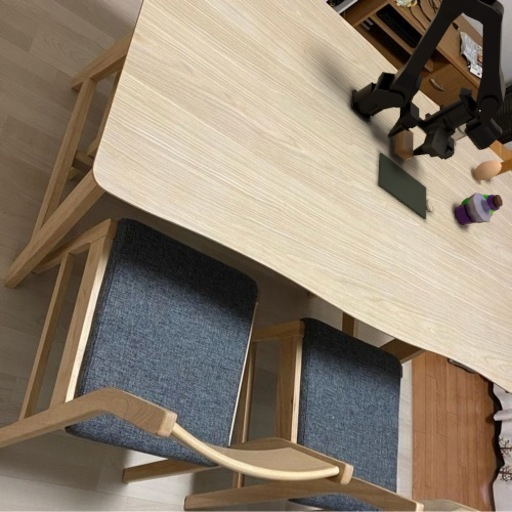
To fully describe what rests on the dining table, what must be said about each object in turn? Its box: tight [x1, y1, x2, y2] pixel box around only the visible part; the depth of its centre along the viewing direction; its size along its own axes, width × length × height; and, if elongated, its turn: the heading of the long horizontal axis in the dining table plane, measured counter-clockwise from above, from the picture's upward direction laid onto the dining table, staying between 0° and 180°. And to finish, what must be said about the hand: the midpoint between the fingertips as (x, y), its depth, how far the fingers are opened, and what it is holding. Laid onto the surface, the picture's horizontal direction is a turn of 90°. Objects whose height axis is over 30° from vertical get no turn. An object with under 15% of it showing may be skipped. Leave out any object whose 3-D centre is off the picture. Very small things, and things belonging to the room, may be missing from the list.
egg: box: [473, 160, 501, 181], centre depth 170 cm, size 5×5×8 cm
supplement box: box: [493, 157, 512, 178], centre depth 174 cm, size 3×3×10 cm
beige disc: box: [426, 199, 434, 212], centre depth 148 cm, size 3×3×1 cm
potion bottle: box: [453, 192, 504, 226], centre depth 154 cm, size 9×9×12 cm
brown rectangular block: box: [390, 129, 415, 164], centre depth 146 cm, size 4×8×4 cm, turn 169°
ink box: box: [451, 110, 480, 143], centre depth 164 cm, size 8×5×12 cm, turn 123°
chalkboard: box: [377, 152, 427, 220], centre depth 143 cm, size 18×10×1 cm, turn 79°
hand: (399, 145), depth 147 cm, fingers open, 9 cm apart
